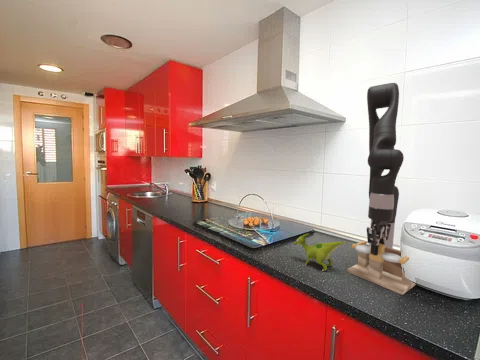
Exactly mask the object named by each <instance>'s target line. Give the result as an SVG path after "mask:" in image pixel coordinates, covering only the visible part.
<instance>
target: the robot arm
mask: <svg viewBox="0 0 480 360" xmlns="http://www.w3.org/2000/svg"><path fill="white" fill-rule="evenodd" d="M366 92H367V94H366V102H367V104H366V105H367V115H368V125H369V126H368V128H369V129H368V131H369V133H368V151H369V152H368V156H367V165H368V166H369V183H368V184H369V185H368V201H369V202H368V212H367V217H368V219H370V227H369V226H367V227H366V237H367V239H366V241H367V243H368V246H369V247H371V252H370V253H371V254H372V255H375V256H376V255H378V246H379V243H380V244H383V245H385V247H389V248H392V249H394V237H395V225H396V217H397V211H398V204H399V198H400V192H399V188H398V186H396V180H397V177H398V174H399V172H400V169H401V167H402V166H403V162H404V159H405V158H404V153H403V151H401V150H400V149H395V145H396V144H397V118H398V111H399V101H400V100H399V99H400V89H399V85H398V84H397V82H388V83H384V84H383V83H382V84H377V85H372V86H369V87H368V89H367V91H366ZM385 108H387V109H386V111H385V112H384V113H383V115H381V117H379V115H378V112H377V110H378V109H385ZM385 170H386V171H387V170H388V173H386V174H384V175H383V173H384V172H385ZM369 258H370V256H369Z"/></svg>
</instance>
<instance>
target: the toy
mask: <svg viewBox="0 0 480 360" xmlns="http://www.w3.org/2000/svg"><path fill="white" fill-rule="evenodd" d="M307 236H310V233H305V234H303V235H300V236H299V237H298V238H296V240H295V241H294V242H293V244H294V246H299V245H300V246H301V247H302V248H303V249H304V251H305V254H306V259H307V260H306V261H305V266H307V264H308V263H309V262H310V260H311V261H315V262H316V263H317V264H318V265H321V266H322V267H323V268H322V272H323V271H324V272H325V271H328V267H329V266H333V260H332V259H331V258H330V257H331V255H332V254H333V253H334V252H335V251H336V250H337V249H338V248H339V247H340V246H342V245H344V244H346V243H347V241H331V242H318V243H315V244H312V245H309V244H307V243H306V238H307ZM325 261H328V263H327V264H326V263H325Z"/></svg>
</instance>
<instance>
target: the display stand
mask: <svg viewBox="0 0 480 360" xmlns="http://www.w3.org/2000/svg"><path fill="white" fill-rule="evenodd" d="M401 251H402V250H398V249H395V248H393V249H392V248H389V247H385V253H393V254H396V255H399V256H400V257H401ZM357 253H358V255H357V263H356V264H354V265H353V266H350V267H348V268H347V273H349V274H351V275H354V276H355V277H359V278H360V279H361V278H362V279H363V280H366V281H368V282H370V283H373V284H376V285H378V286H380V287H383V288H385V289H388V290H390V291H393V293H397V294H399V295H404V294H405V293H407V292H409V291H410V290H411V289H413V288H414V287H415V286H416V285H417V284H415V283H413V282H412V281H410V280H409V279H407V278H406V277H405V271H404V268H403V273H402V267H401V263H395V262H389V261H386V260H384V262H382V263H381V262H378V261H375V260H372V259H370V257H369V256H370V253H362V252H359V251H358V252H357Z"/></svg>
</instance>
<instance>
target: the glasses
mask: <svg viewBox="0 0 480 360" xmlns="http://www.w3.org/2000/svg"><path fill="white" fill-rule="evenodd" d="M367 243H368V240H362V241H360V242H356V243H352V244H351V249H355V250H356V251H357V252H358V253H359V252H362V253H370V252H371V247H369V245H367ZM370 259H372V260H375V261H378V262H381V263H382V262H384V260H386V261H389V262H395V263H402V264H405V263H406V262H407V261H408V260H409V257H407V255H406V256H405V257H403V258H401V257H400V256H399V255H396V254H393V253H385V245H383V244H380V243H379V246H378V255H376V256H375V255H372V254H371V253H370V257H369V260H370Z"/></svg>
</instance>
